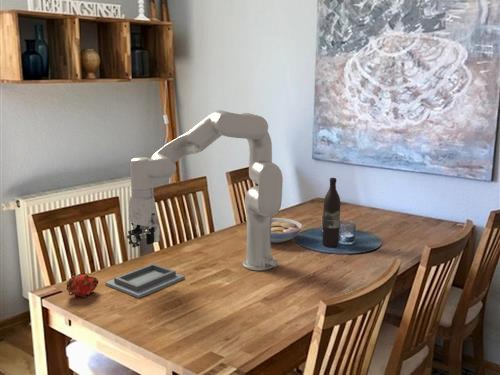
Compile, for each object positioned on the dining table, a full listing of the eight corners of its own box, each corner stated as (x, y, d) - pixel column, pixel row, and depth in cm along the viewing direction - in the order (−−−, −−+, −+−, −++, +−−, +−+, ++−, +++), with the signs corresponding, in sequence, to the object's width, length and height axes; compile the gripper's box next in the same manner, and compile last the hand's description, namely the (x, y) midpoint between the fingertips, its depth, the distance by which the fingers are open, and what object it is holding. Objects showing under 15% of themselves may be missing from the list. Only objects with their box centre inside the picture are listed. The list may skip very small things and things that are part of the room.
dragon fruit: (63, 304, 183) (96, 299, 192) (73, 296, 178) (107, 291, 186) (58, 280, 186) (91, 276, 194) (68, 271, 181) (101, 267, 189)
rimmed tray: (184, 278, 201) (184, 271, 201) (138, 298, 185) (138, 290, 184) (151, 267, 212) (151, 260, 212) (105, 284, 195) (105, 277, 195)
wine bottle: (320, 246, 237) (322, 179, 230) (324, 241, 243) (327, 176, 237) (336, 248, 234) (339, 180, 228) (340, 243, 241) (343, 177, 234)
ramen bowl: (294, 252, 229) (294, 234, 228) (243, 246, 237) (243, 228, 235) (307, 235, 252) (308, 218, 251) (260, 230, 260) (260, 213, 258)
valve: (152, 237, 202) (127, 245, 193) (152, 220, 201) (126, 228, 192) (165, 241, 198) (139, 249, 189) (164, 223, 197) (138, 231, 188)
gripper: (118, 191, 193) (120, 239, 197) (151, 198, 183) (152, 249, 187) (134, 187, 199) (136, 234, 203) (167, 194, 189) (168, 244, 193)
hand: (144, 241), depth 195 cm, fingers closed on valve, 5 cm apart
